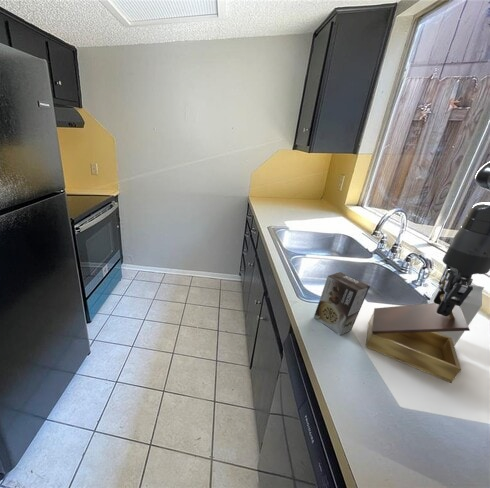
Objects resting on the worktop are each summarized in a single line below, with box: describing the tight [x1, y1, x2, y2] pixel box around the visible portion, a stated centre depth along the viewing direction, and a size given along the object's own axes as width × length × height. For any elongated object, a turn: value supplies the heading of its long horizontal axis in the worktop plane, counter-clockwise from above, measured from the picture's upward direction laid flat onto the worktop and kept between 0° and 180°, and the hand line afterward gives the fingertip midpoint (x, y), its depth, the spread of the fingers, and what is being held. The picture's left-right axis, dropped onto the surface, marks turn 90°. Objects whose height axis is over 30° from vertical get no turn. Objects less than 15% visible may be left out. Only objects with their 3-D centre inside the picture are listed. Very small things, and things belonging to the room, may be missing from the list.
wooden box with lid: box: [365, 311, 462, 384], centre depth 73 cm, size 18×14×5 cm
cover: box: [372, 294, 471, 334], centre depth 70 cm, size 18×14×5 cm
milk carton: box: [427, 283, 485, 347], centre depth 75 cm, size 7×7×19 cm
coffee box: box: [313, 271, 371, 336], centre depth 79 cm, size 9×6×16 cm
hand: (440, 308), depth 66 cm, fingers closed on cover, 5 cm apart
